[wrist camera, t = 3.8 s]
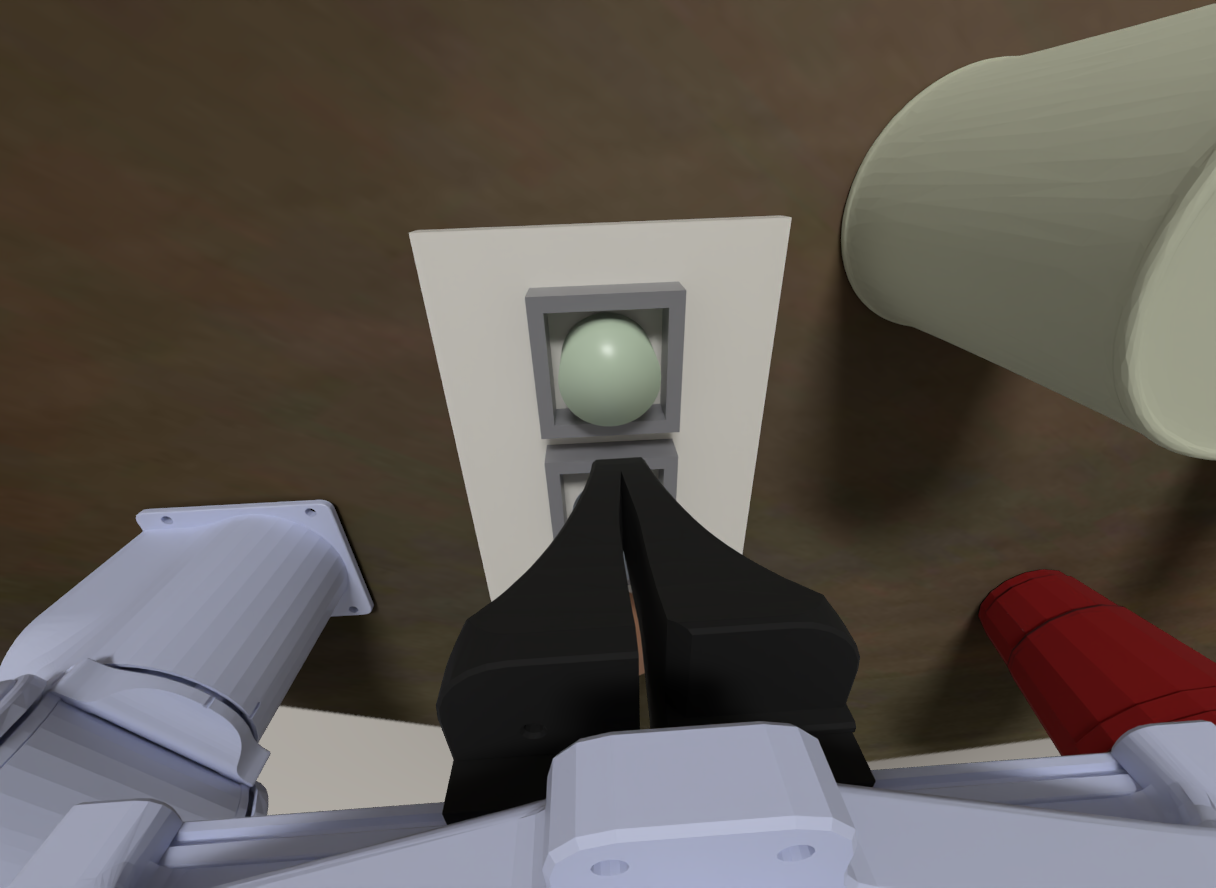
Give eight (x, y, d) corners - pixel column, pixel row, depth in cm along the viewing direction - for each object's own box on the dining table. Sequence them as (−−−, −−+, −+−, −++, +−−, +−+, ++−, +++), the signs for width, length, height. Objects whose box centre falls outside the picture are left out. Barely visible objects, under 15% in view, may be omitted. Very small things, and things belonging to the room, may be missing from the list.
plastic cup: (966, 541, 27) (1204, 766, 17) (1147, 530, 27) (1491, 746, 17) (912, 660, 33) (1067, 887, 22) (1064, 650, 33) (1287, 870, 22)
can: (1089, 254, 19) (1673, 343, 9) (870, 362, 21) (1142, 539, 11) (1081, -8, 15) (2145, -400, 5) (809, 156, 17) (1155, 126, 7)
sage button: (564, 402, 20) (562, 429, 18) (556, 314, 18) (553, 332, 16) (651, 398, 20) (660, 423, 18) (653, 310, 18) (662, 327, 16)
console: (506, 643, 30) (500, 681, 28) (417, 230, 18) (393, 238, 16) (724, 629, 30) (736, 666, 28) (781, 215, 18) (809, 221, 16)
